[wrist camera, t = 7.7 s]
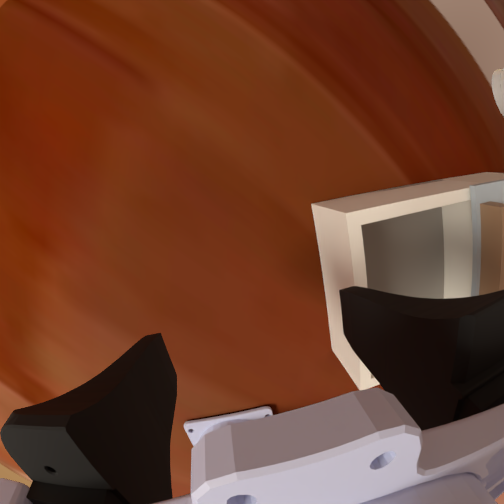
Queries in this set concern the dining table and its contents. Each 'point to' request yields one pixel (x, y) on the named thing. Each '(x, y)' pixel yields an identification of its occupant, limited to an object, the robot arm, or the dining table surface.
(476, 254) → the lid
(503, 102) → the cup
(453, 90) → the dining table surface
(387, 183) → the dining table surface
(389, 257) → the carton
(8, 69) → the dining table surface
